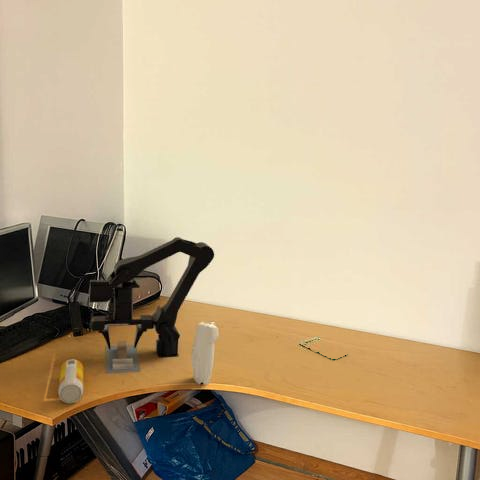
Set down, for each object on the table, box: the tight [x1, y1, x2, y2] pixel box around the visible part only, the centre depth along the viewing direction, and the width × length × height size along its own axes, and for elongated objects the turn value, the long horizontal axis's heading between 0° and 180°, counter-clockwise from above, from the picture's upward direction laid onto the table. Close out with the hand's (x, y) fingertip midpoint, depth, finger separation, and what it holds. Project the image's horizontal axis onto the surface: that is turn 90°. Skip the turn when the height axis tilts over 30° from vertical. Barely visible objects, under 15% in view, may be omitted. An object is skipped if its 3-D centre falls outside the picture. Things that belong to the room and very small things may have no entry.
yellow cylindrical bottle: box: [57, 359, 84, 404], centre depth 135 cm, size 6×6×15 cm
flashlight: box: [191, 321, 219, 386], centre depth 144 cm, size 7×18×7 cm
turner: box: [113, 340, 133, 369], centre depth 156 cm, size 15×6×3 cm, turn 15°
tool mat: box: [105, 344, 141, 374], centre depth 156 cm, size 10×20×1 cm, turn 15°
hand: (122, 348), depth 157 cm, fingers open, 7 cm apart
